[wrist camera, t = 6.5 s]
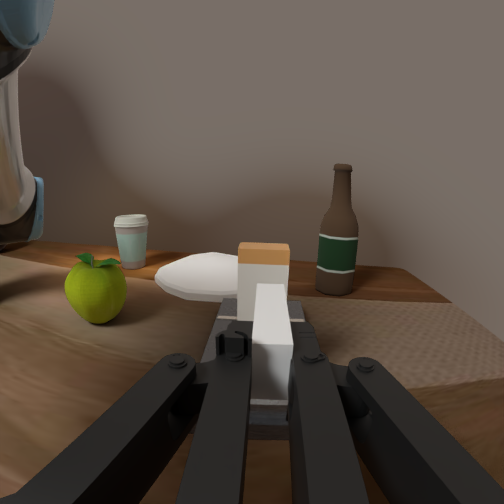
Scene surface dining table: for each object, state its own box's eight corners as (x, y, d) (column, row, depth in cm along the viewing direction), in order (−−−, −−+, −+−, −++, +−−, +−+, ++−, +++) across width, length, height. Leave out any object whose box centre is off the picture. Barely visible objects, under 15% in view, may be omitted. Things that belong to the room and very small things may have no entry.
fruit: (101, 302, 45) (94, 245, 43) (140, 315, 42) (134, 252, 40) (61, 322, 37) (50, 258, 34) (98, 340, 34) (86, 268, 31)
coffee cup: (157, 263, 70) (155, 214, 67) (138, 273, 62) (135, 219, 59) (129, 259, 72) (127, 213, 69) (109, 268, 64) (106, 218, 61)
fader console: (326, 438, 20) (334, 410, 19) (183, 432, 21) (178, 403, 20) (299, 312, 46) (301, 291, 45) (223, 309, 46) (223, 288, 45)
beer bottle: (320, 297, 52) (330, 161, 46) (309, 283, 59) (317, 163, 54) (358, 296, 52) (371, 165, 47) (344, 282, 60) (354, 167, 54)
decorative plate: (131, 268, 53) (198, 244, 75) (133, 288, 54) (198, 259, 76) (254, 292, 44) (293, 255, 66) (253, 316, 45) (292, 272, 67)
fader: (279, 384, 25) (290, 252, 22) (236, 382, 25) (237, 250, 22) (278, 360, 29) (287, 242, 26) (239, 359, 29) (241, 240, 26)
